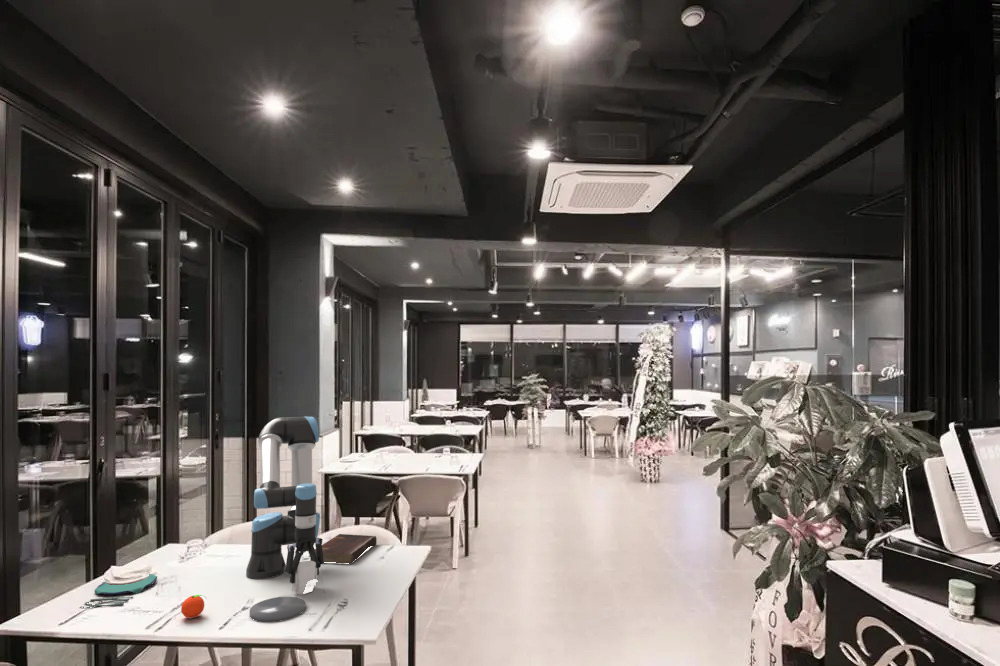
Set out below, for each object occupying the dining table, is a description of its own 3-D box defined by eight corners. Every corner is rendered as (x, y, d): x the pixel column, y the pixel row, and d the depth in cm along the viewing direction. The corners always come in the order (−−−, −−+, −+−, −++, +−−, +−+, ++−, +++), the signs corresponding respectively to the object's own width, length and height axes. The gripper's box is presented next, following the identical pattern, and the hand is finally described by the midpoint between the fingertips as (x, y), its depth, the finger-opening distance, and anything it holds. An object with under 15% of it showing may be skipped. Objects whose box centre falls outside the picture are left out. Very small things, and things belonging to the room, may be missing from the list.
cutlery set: (166, 577, 235) (166, 571, 235) (127, 608, 205) (127, 601, 205) (113, 580, 232) (113, 574, 232) (66, 612, 202) (67, 605, 203)
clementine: (201, 610, 201) (202, 589, 201) (211, 615, 196) (211, 593, 197) (177, 618, 194) (177, 596, 195) (186, 623, 190) (186, 601, 191)
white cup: (308, 596, 213) (309, 568, 214) (289, 594, 215) (289, 566, 215) (319, 588, 221) (319, 561, 221) (300, 586, 222) (301, 560, 223)
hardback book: (351, 565, 248) (351, 553, 249) (310, 563, 251) (310, 552, 252) (376, 546, 277) (376, 535, 277) (339, 544, 280) (339, 533, 280)
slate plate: (239, 612, 198) (239, 608, 198) (287, 596, 212) (287, 592, 212) (267, 626, 187) (267, 622, 187) (315, 609, 201) (316, 604, 201)
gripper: (286, 533, 209) (285, 598, 207) (334, 522, 225) (333, 582, 223) (275, 530, 214) (273, 594, 212) (323, 519, 230) (322, 578, 228)
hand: (304, 588), depth 218 cm, fingers closed on white cup, 8 cm apart
